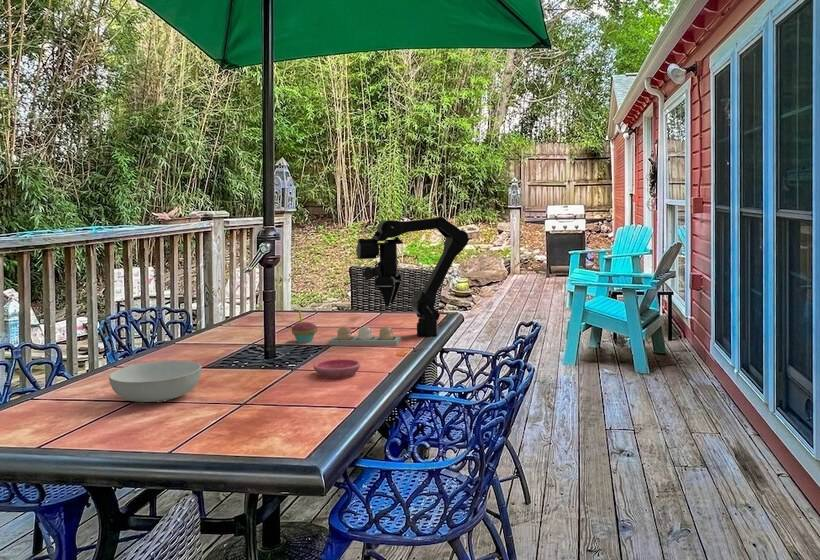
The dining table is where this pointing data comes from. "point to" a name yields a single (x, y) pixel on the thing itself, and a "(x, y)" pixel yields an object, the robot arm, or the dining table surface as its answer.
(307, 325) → the cupcake
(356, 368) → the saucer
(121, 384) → the serving bowl
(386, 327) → the brown egg
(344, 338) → the brown egg
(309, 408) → the dining table surface
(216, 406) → the dining table surface
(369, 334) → the white egg
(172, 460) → the dining table surface
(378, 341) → the egg carton
